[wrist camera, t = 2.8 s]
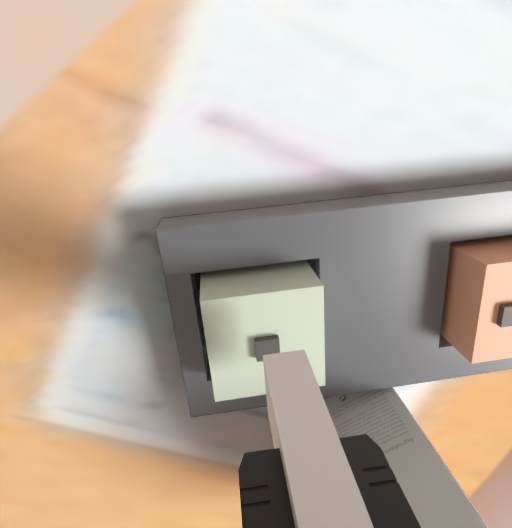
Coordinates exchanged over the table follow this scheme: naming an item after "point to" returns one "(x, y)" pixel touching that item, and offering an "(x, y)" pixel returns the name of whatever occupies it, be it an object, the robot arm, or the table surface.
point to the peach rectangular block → (479, 299)
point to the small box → (406, 456)
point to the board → (342, 280)
